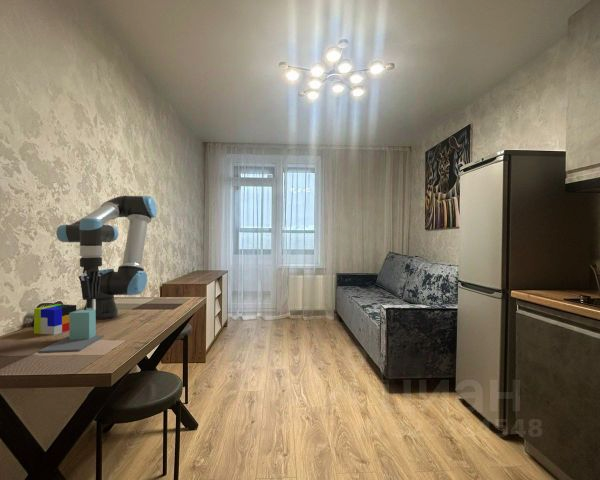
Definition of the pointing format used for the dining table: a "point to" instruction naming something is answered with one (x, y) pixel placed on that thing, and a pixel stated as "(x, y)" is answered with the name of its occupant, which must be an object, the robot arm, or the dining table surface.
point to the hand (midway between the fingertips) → (91, 315)
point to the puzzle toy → (52, 319)
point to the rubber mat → (70, 345)
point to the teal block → (82, 324)
